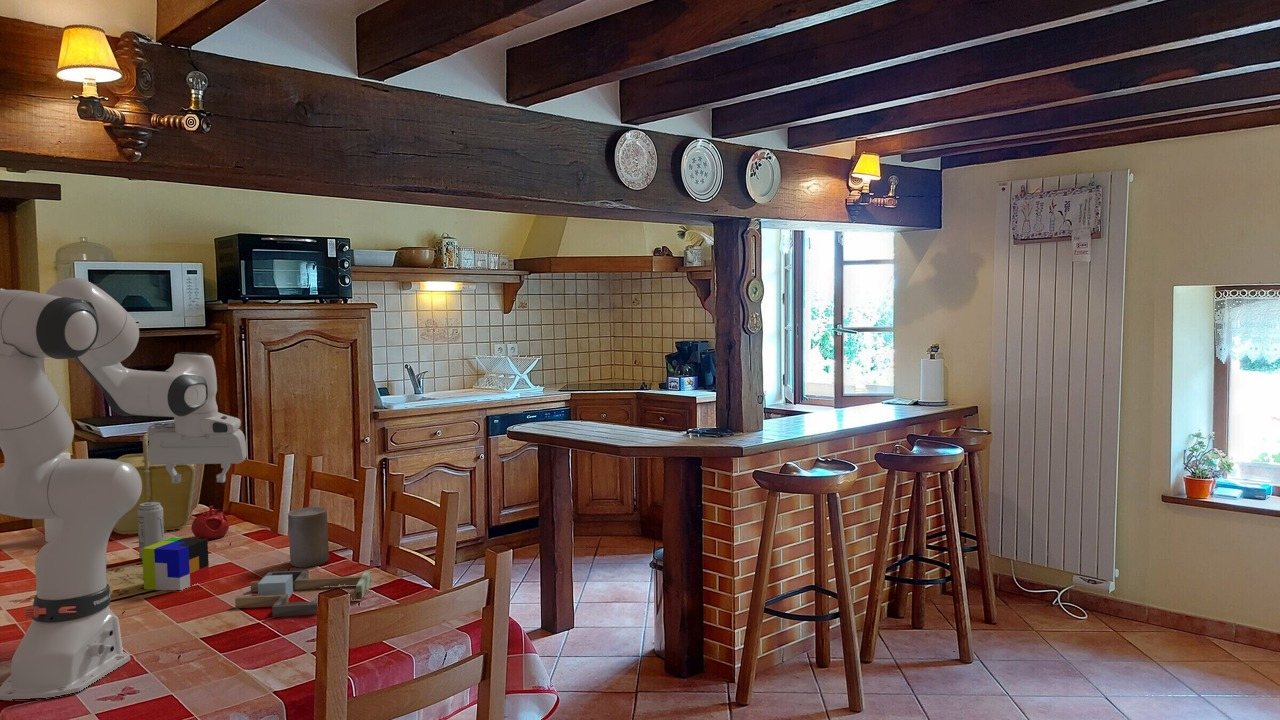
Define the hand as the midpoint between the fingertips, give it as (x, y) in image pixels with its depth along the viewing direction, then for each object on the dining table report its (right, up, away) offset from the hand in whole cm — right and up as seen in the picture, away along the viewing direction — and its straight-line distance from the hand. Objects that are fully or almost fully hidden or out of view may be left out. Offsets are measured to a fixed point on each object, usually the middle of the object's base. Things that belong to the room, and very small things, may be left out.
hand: (199, 482), depth 198 cm
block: (+16, -27, +3) cm, 32 cm away
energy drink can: (-31, -26, +36) cm, 54 cm away
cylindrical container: (-70, -25, +58) cm, 94 cm away
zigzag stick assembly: (+22, -27, +4) cm, 35 cm away
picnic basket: (-51, -24, +76) cm, 95 cm away
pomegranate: (-26, -25, +58) cm, 68 cm away
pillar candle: (+13, -26, +31) cm, 42 cm away
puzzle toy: (-13, -27, +14) cm, 33 cm away
